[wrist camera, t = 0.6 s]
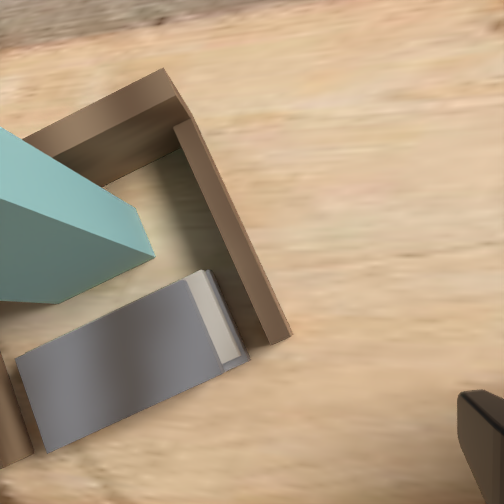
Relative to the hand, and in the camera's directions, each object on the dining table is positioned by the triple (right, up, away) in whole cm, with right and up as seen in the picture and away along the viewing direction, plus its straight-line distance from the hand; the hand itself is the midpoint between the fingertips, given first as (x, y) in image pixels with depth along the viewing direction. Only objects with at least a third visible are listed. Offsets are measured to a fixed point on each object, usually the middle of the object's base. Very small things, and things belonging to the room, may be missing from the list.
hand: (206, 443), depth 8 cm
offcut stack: (-5, -2, +17) cm, 18 cm away
